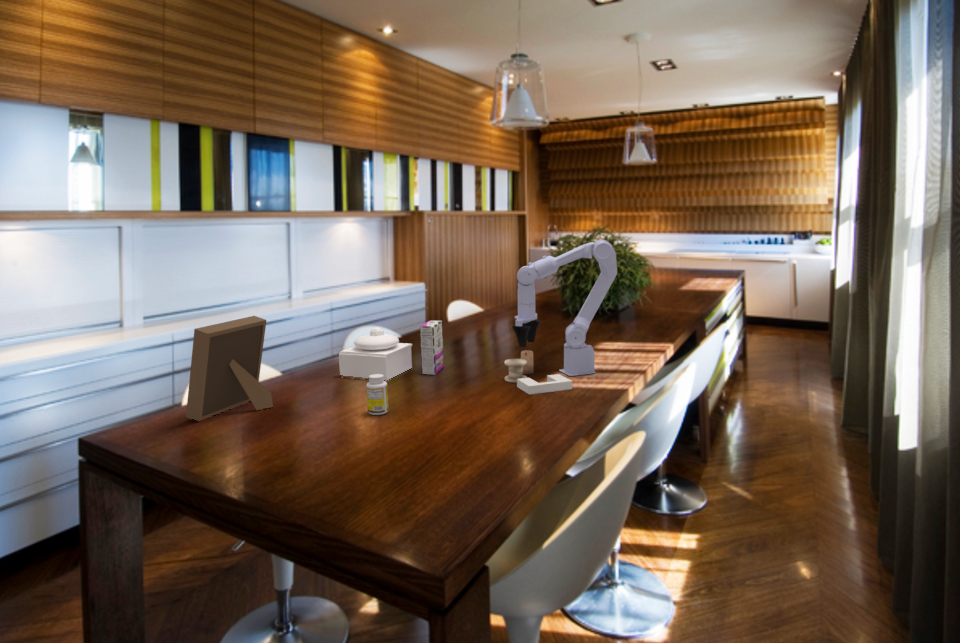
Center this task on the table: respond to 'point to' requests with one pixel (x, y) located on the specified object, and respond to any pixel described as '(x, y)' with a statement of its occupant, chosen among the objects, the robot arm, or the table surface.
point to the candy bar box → (431, 347)
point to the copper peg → (528, 357)
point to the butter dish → (376, 356)
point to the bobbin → (515, 369)
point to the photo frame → (227, 367)
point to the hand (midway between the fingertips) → (526, 344)
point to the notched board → (544, 384)
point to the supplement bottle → (377, 395)
